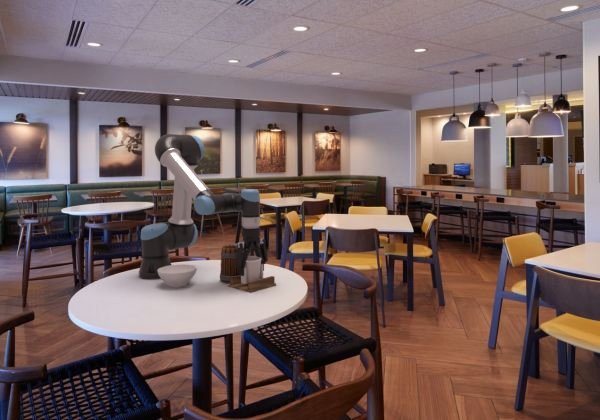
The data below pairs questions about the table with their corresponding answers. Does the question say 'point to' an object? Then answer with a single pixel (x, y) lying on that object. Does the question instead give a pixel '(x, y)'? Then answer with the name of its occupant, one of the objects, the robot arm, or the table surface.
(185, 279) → the bowl
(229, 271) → the mug
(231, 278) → the rail stand
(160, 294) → the table surface
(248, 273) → the dixie cup
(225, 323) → the table surface
